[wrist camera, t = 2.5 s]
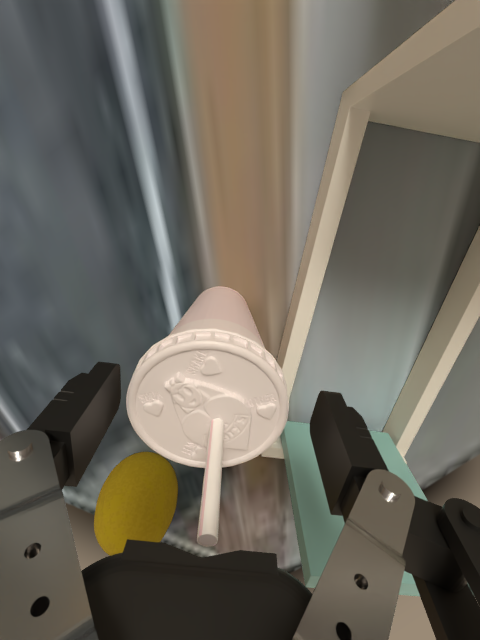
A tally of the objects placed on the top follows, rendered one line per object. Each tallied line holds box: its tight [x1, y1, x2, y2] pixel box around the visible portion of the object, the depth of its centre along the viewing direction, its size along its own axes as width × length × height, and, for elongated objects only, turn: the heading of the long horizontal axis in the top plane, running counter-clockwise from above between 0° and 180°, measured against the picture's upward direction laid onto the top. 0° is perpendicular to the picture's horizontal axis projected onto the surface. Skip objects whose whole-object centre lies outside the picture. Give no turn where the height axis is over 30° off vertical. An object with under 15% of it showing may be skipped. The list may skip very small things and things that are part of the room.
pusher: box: [281, 421, 427, 596], centre depth 19 cm, size 8×1×10 cm, turn 81°
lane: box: [260, 0, 480, 464], centre depth 16 cm, size 11×23×11 cm, turn 171°
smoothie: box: [126, 286, 289, 547], centre depth 14 cm, size 6×6×14 cm
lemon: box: [94, 452, 178, 556], centre depth 22 cm, size 6×6×8 cm
